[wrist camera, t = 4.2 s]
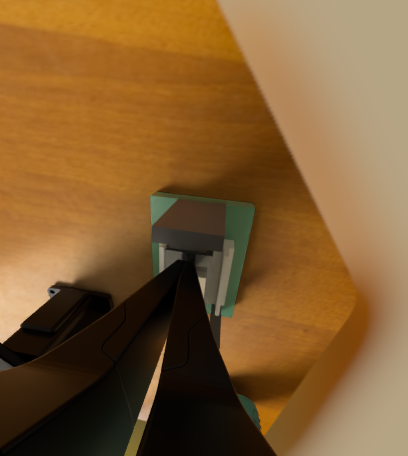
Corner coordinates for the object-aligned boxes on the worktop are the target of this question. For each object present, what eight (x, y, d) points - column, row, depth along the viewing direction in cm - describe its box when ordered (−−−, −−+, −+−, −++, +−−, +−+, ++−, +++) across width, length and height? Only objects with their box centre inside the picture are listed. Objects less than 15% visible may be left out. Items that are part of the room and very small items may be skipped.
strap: (202, 334, 14) (200, 353, 13) (171, 329, 14) (166, 347, 13) (214, 245, 10) (211, 261, 9) (169, 239, 10) (162, 254, 9)
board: (231, 306, 17) (233, 378, 12) (158, 294, 17) (128, 358, 12) (253, 203, 13) (270, 242, 8) (156, 191, 13) (110, 220, 8)
